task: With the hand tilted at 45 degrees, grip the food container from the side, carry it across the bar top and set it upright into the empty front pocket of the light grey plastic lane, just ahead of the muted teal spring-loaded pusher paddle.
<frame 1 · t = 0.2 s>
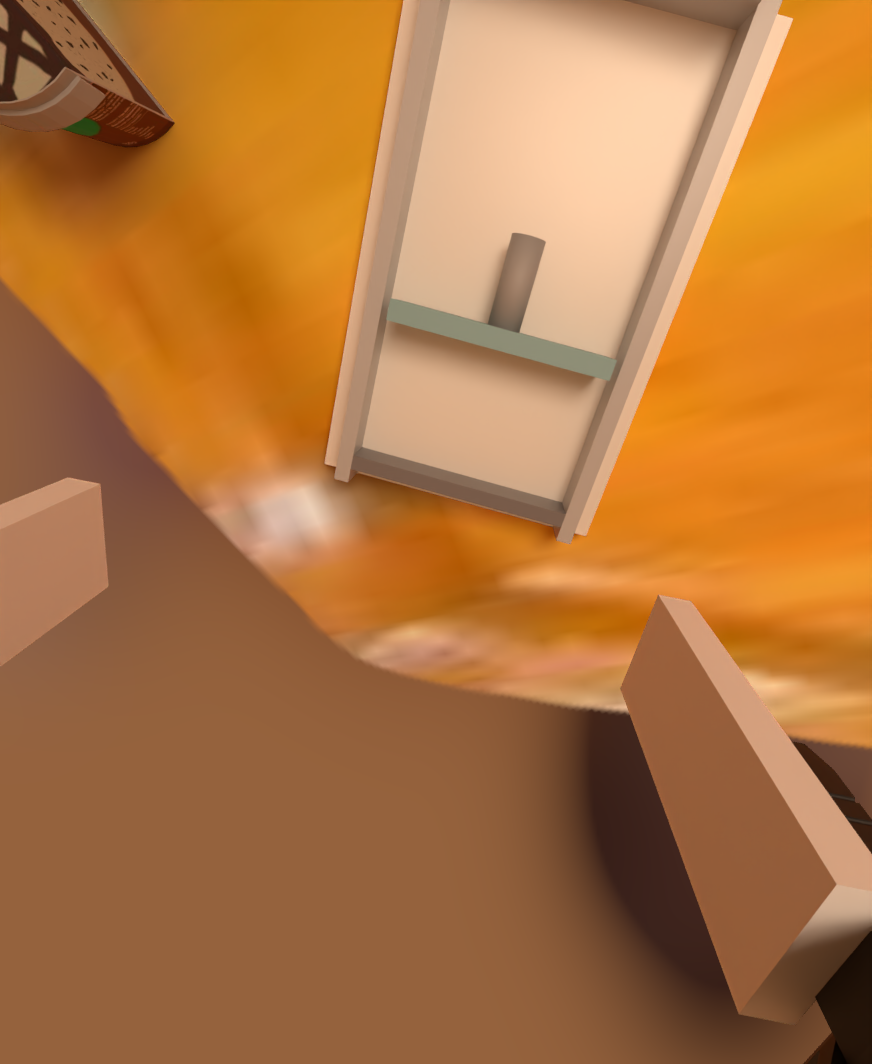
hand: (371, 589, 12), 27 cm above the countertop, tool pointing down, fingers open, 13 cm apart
pusher lane: (515, 282, 34), on the countertop
pusher paddle: (512, 295, 31), point 4 cm above the countertop, slide at 0.0 cm
food container: (92, 94, 33), on the countertop
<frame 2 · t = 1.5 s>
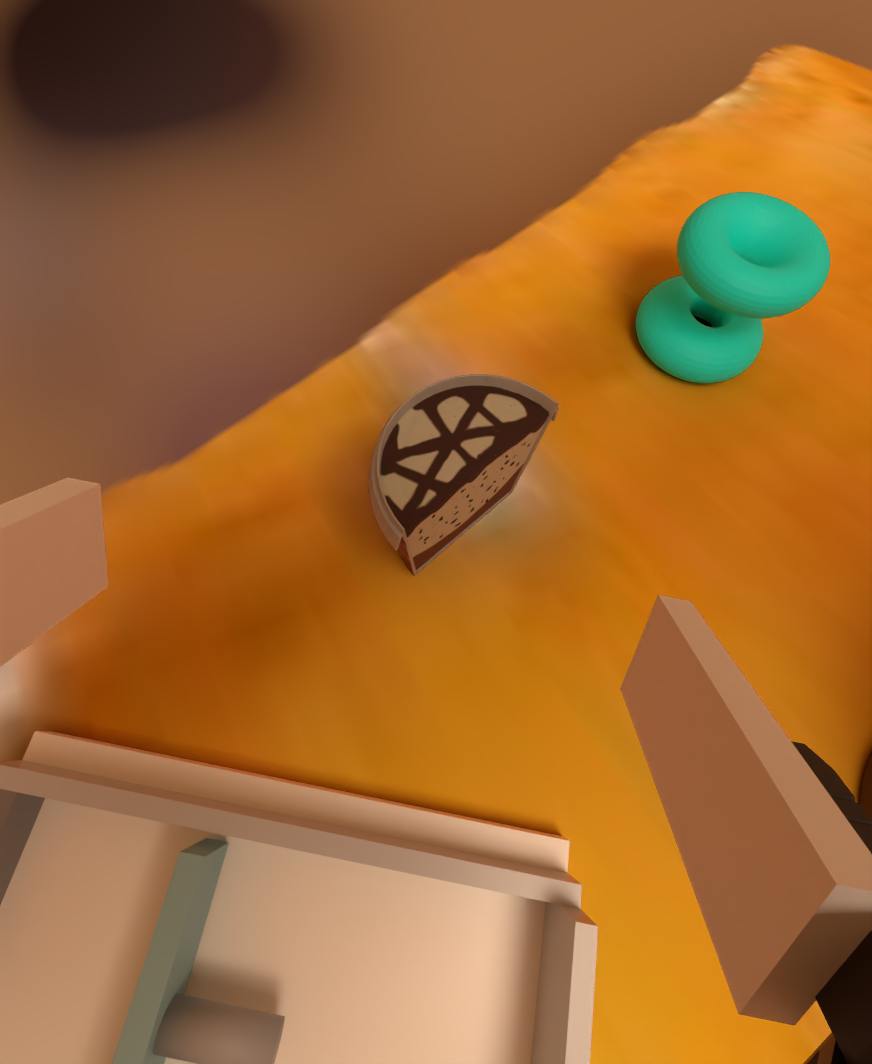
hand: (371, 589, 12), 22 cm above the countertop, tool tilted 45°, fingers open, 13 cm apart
pusher lane: (250, 998, 27), on the countertop
donuts: (687, 342, 44), on the countertop
pusher paddle: (207, 1032, 23), point 4 cm above the countertop, slide at 0.0 cm
food container: (434, 503, 37), on the countertop
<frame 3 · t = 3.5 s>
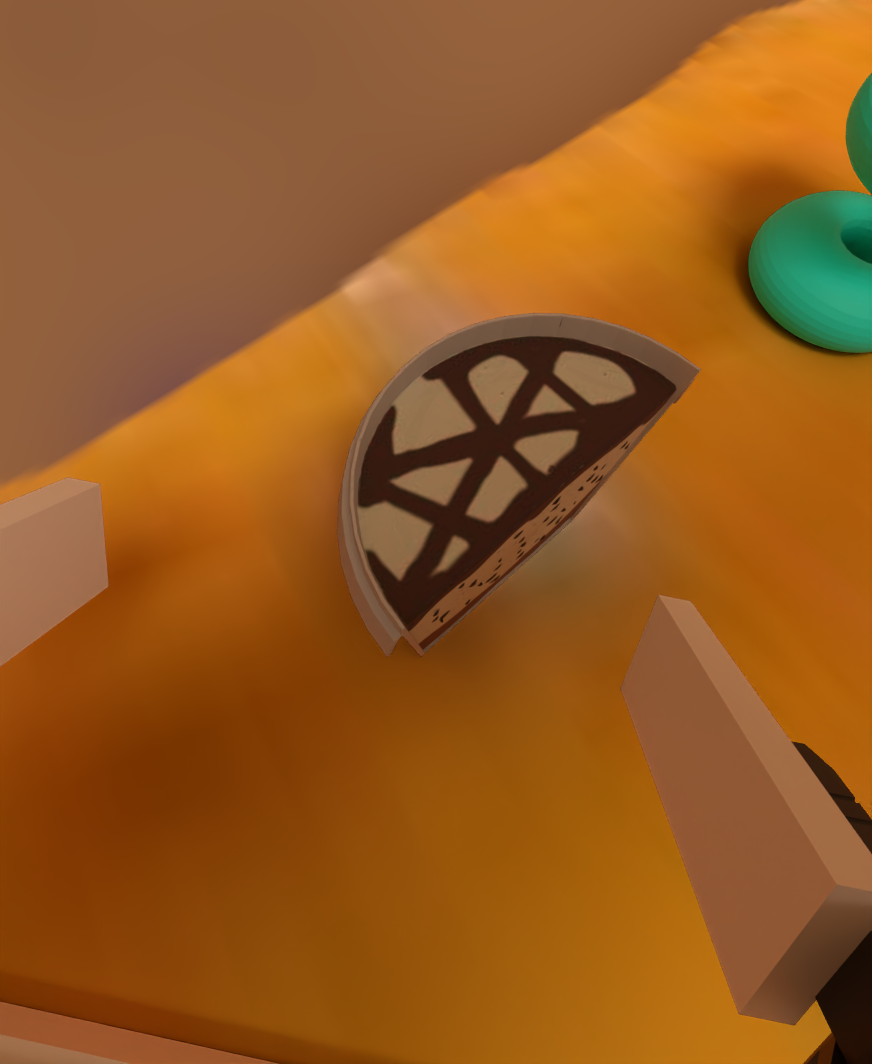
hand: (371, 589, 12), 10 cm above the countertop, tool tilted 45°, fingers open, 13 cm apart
donuts: (820, 295, 30), on the countertop
food container: (453, 535, 24), on the countertop
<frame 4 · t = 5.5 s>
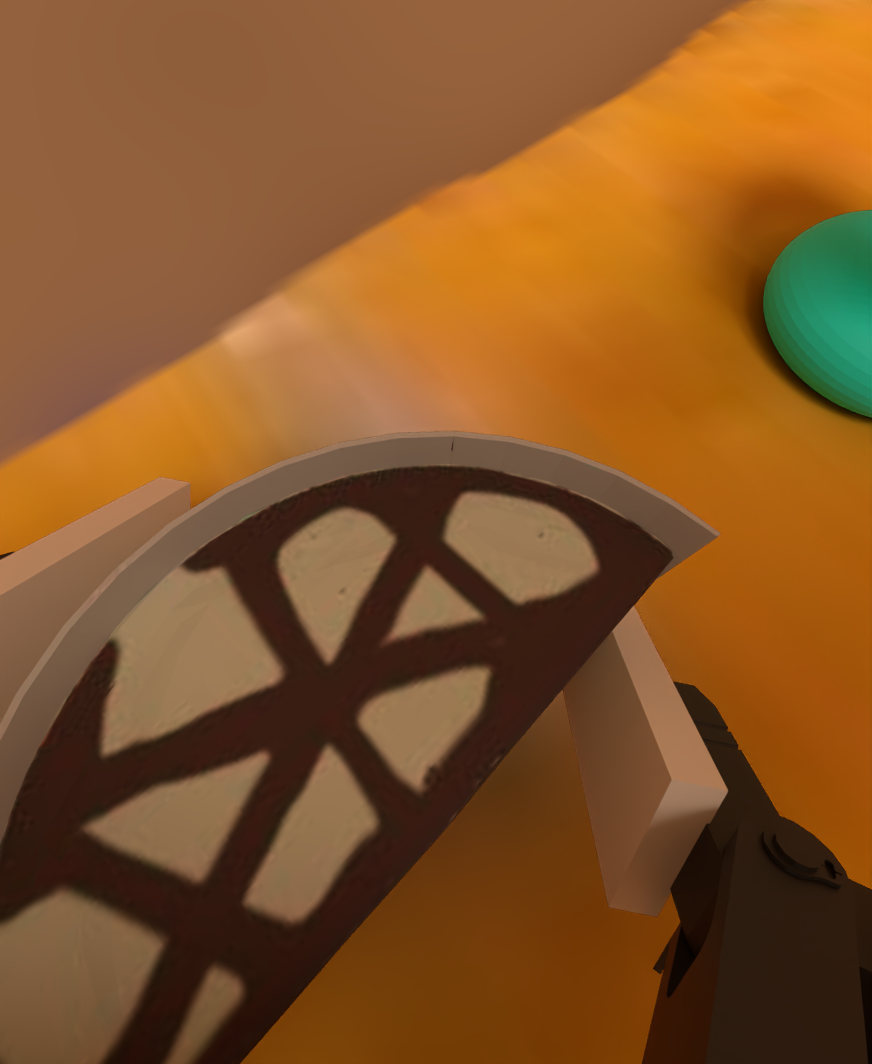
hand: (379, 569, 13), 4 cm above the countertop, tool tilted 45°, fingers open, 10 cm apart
donuts: (855, 343, 23), on the countertop
food container: (350, 705, 16), on the countertop, touching gripper
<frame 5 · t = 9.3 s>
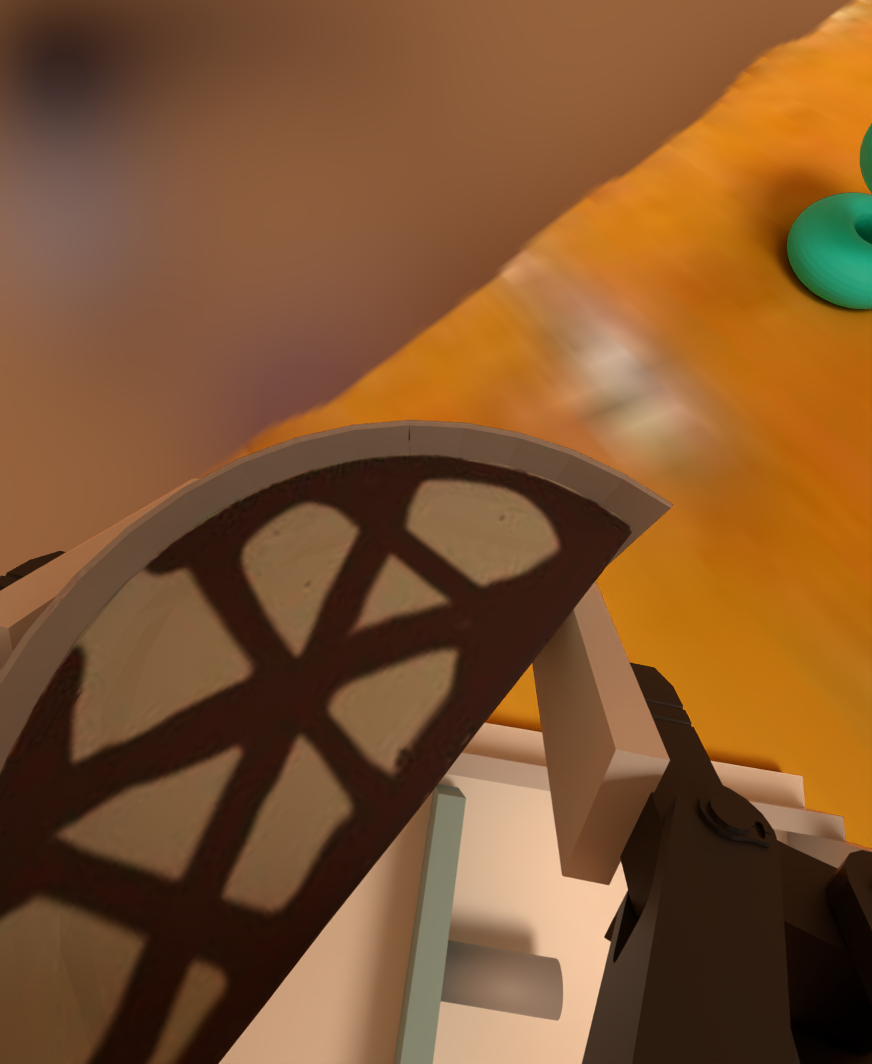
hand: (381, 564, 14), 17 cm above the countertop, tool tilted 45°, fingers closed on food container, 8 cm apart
pusher lane: (491, 944, 26), on the countertop
donuts: (838, 268, 42), on the countertop
pusher paddle: (483, 976, 22), point 4 cm above the countertop, slide at 0.0 cm
food container: (334, 704, 16), point 13 cm above the countertop, touching gripper
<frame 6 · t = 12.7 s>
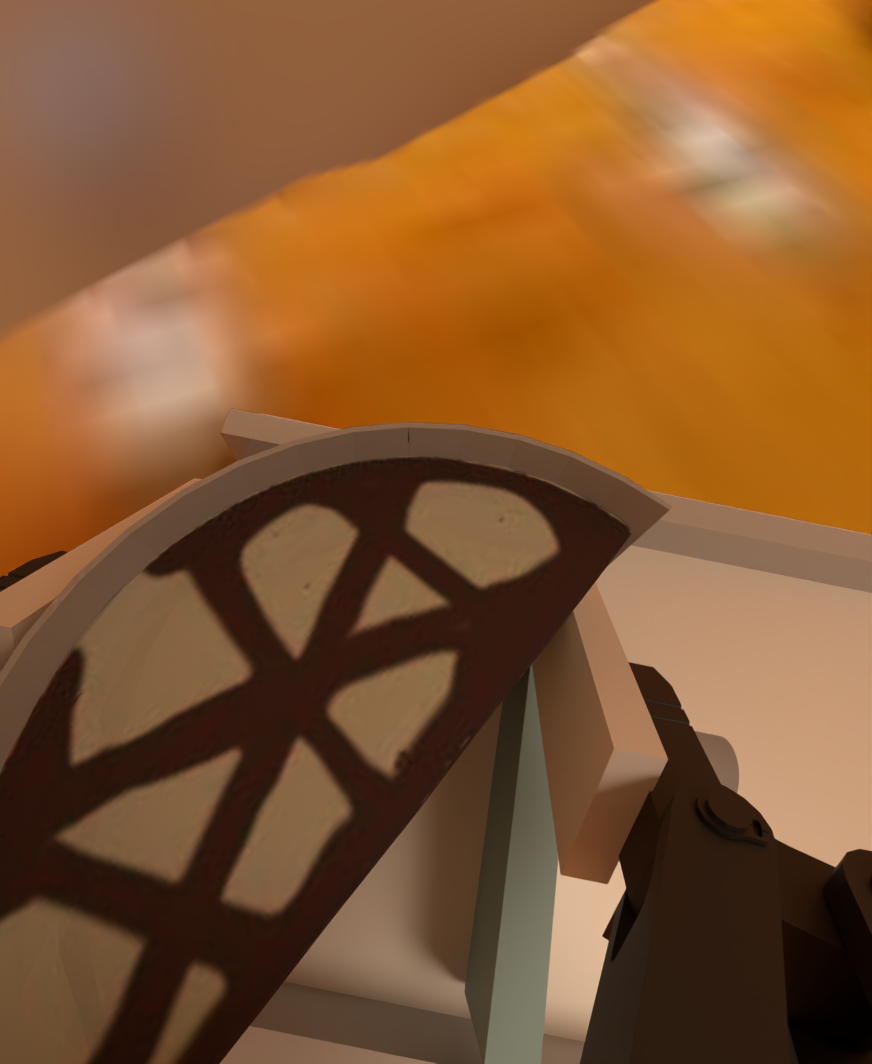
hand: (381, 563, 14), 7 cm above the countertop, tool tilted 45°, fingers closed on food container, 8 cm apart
pusher lane: (599, 753, 19), on the countertop
pusher paddle: (614, 751, 15), point 4 cm above the countertop, slide at 0.0 cm, touching gripper
food container: (334, 705, 16), point 3 cm above the countertop, touching gripper
when the fingers open (7 cm above the countertop, at t = 12.9 s): food container drops 1 cm, resting on pusher lane.
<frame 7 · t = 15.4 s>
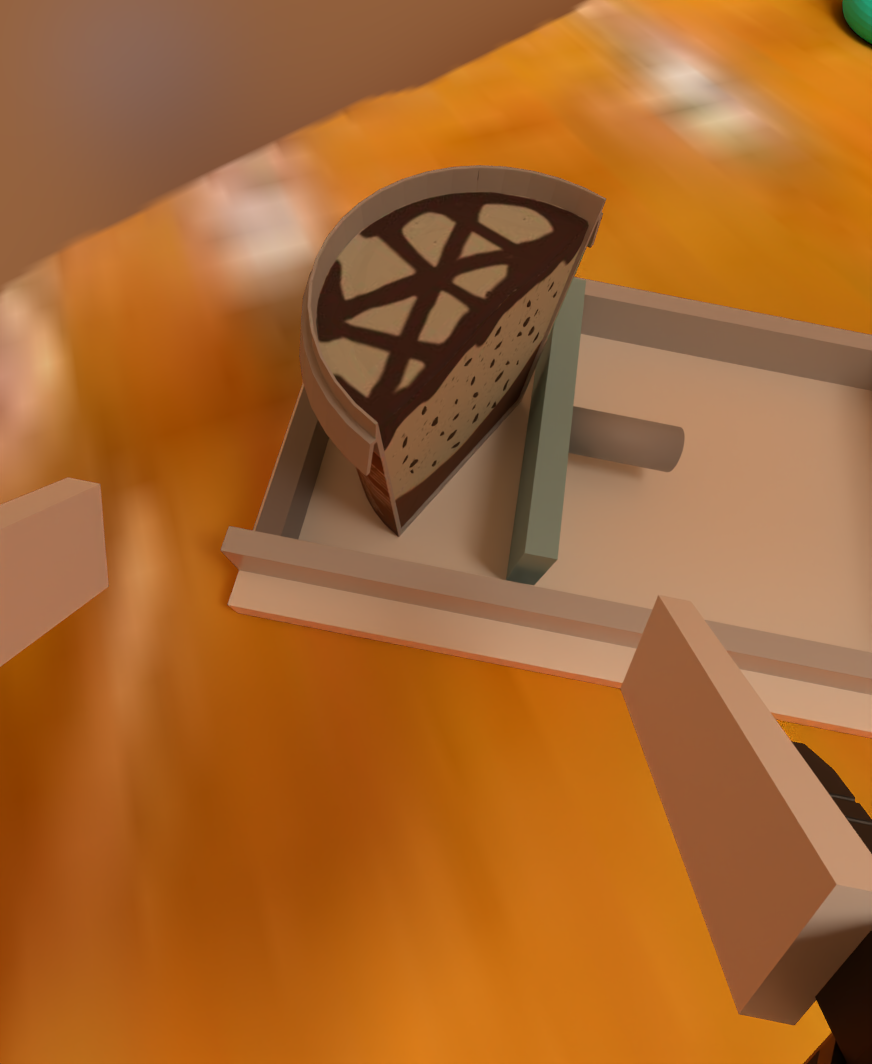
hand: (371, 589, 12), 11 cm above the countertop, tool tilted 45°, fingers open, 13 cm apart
pusher lane: (594, 477, 26), on the countertop
pusher paddle: (603, 435, 23), point 4 cm above the countertop, slide at 0.0 cm
food container: (412, 430, 25), point 1 cm above the countertop, touching pusher lane
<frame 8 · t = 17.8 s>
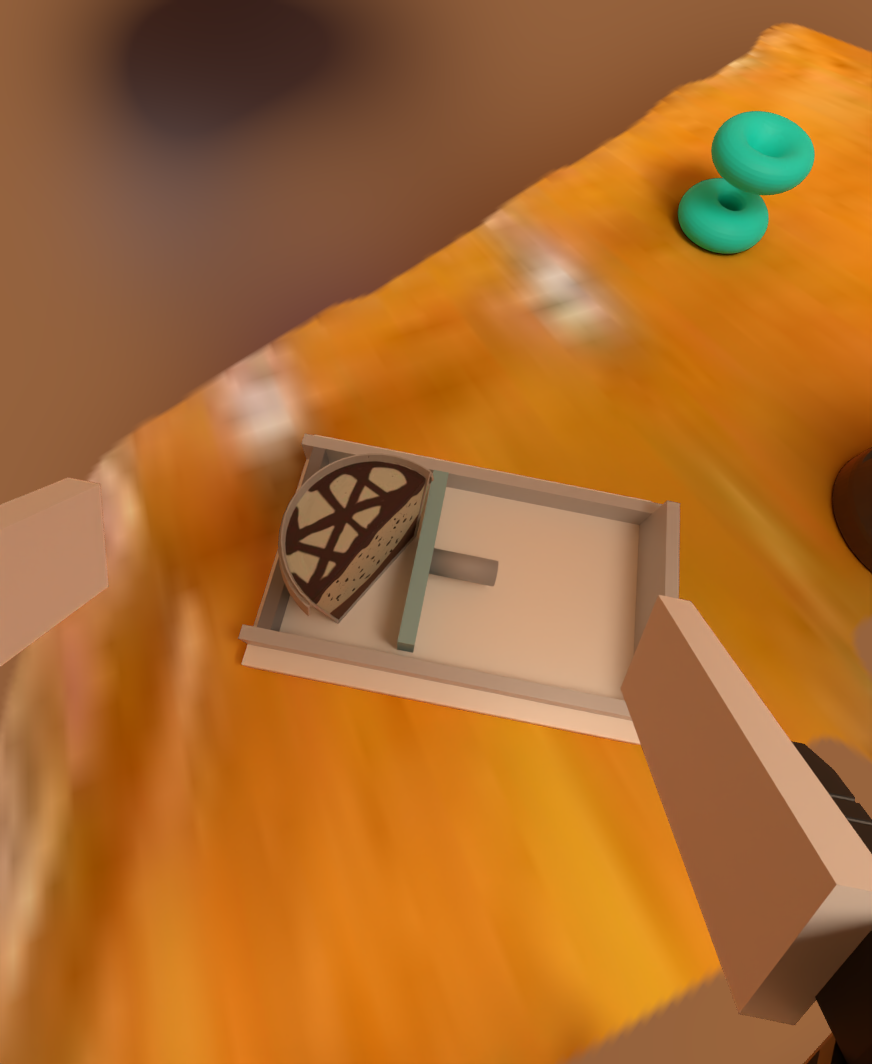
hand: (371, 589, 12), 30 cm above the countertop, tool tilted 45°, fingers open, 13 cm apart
pusher lane: (461, 580, 44), on the countertop
donuts: (714, 229, 61), on the countertop
pusher paddle: (455, 565, 40), point 4 cm above the countertop, slide at 0.0 cm
food container: (350, 555, 42), point 1 cm above the countertop, touching pusher lane
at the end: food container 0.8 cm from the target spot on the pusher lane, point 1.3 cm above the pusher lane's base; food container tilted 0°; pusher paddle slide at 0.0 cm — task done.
